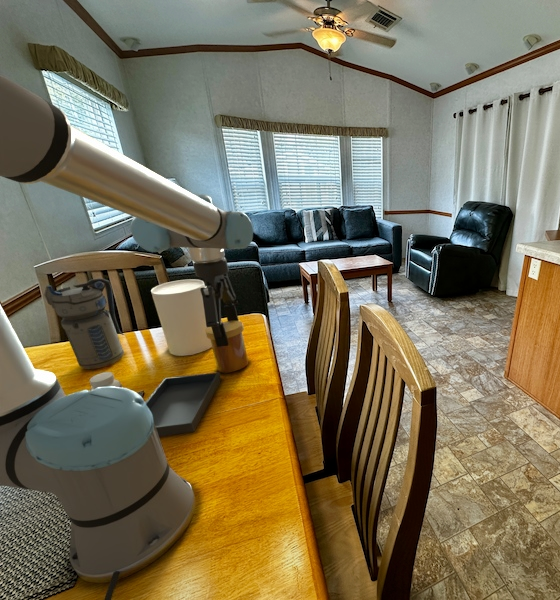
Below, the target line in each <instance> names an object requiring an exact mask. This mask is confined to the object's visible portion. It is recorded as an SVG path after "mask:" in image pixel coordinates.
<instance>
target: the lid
mask: <svg viewBox="0 0 560 600" xmlns="http://www.w3.org/2000/svg"><path fill="white" fill-rule="evenodd" d="M221 323H223V324H224V328H225V331H226V335H227V338H230V337H233V336H236V335H238V334H240V333H241V332H242V333H243V331H244V324H243V322H242V321H240V320H239V321H228V320H227V321H221ZM205 331H206V335H207V338H208V339H212V340H215V338H214V334H213V331H212V327H208V328H207V329H206V330H205Z"/></svg>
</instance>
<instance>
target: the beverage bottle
mask: <svg viewBox="0 0 560 600" xmlns="http://www.w3.org/2000/svg"><path fill="white" fill-rule="evenodd" d="M72 286H73V287H74V288H71V287H70V286H67V287H62V288H60V289H56V290H54V289H53V286H52V285H51V284H50V285H46V286H45V290H44V293H43V295H44V297H45V300H46V302H47V304H48V305H50V306H51V308H52V309H54V310H55V313H56V315H57V316H58V317H60V318H62V319H61V320H60V324H61V327H62V329H63V330H64V333H65V336H66V337H67V340H68V342H69V344H70V347H71V349H72V351H73V354H74V356H75V358H76V362H77V364H78V366H79V367H80V368H82V369H84V370H96V369H101V368H105V367H108V366H110V365H112V364H115V363H116V362H118V361H120V360H121V359H122V358H123V357H124V354H125V351H124V348H123V346H122V343H121V341H120V340H121V339H120V338H119V337H120V336H119V335H122V336H125V334H124V333H123V332H121V330H120V327H119V323H118V320H117V318H116V313H115V304H114V296H113V288H112V285H111V281H110V280H108V279H105V278H101V277H97V278H93V279H89V280H88V281H86V282H83V283H78V284H74V285H72ZM90 286H92V287H90ZM105 289H106V296H105V295H104V293H103V292H104V290H105ZM106 298H107V299H106ZM107 305H108V310H107V309H105V308H106V306H107Z"/></svg>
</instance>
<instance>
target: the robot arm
mask: <svg viewBox="0 0 560 600" xmlns="http://www.w3.org/2000/svg"><path fill="white" fill-rule="evenodd" d="M0 177H2V178H4V179H7V180H10V181H13V182H15V183H18V184H19V183H20V184H25V185H31V184H36V183H40V182H42V183H44V184H47V185H49V186H51V187H54V188H57V189H59V190H63V191H66V192H68V193H71V194H74V195H76V196H78V197H81V198H84V199H86V200H89V201H92V202H95V203H97V204H100V205H102V206H105V207H108V208H111V209H113V210H115V211H119V212H120V213H124V214H126V215H129V216H131V217H134V218H133V219H132V221H131V222H130V232H131V235H132V238H133V240H134V241H135V243H136V244H137V245H138V246H139V247H140V248H141V249H143V250H145V251H148V252H150V253H158V252H161V251H168V250H169V249H173V248H186V249H188V253H189V257H190V260H191V261H192V262H193V263H192V267H193V269H194V274H195V276H196V277H197V278H201V279H204V284H205V287H203V288H201V289H200V291H201V294H202V297H203V305H204V312H205V320H206V326H207V327H212V331H213V334H214V338H215V341H216V345H217V347H221V346H228V345H229V343H228V339H227V335H226V331H225V328H224V324H223V323H221V322H222V304H221V301H222V302H223V303H224V306H223V308H224V312H225V316H226V319H227V321H240V320H239V316H238V312H237V308H236V304H238V303H239V302H238V299H237V296H236V293H235V291H234V288H233V286H232V283H231V281H230V278H229V271H230V270H229V269H230V268H229V265H228V261H227V258H226V257H225V256H226V254H225V250H226V249H227V250H234V249H236V250H239V249H246V248H247V247H249V245H251V243H252V241H253V238H254V226H253V223H252V220H251V219H250V217H249V216H248V215H247V214H246V213H244V212H243V211H242V212H241V211H234V210H228V211H226V210H222V209H220V208H219V207H217V206H215V205H214V204H213V201H212V198H211V197H210V196H209V195H207V194H194V193H192V192H190V191H189V190H187V189H185V188H183V187H181V186H179V185H177V184H176V183H174V182H172V180H168V179H167V178H166V177H164V176H162V175H160V174H158V173H156V172H155V171H153V170H151V169H149V168H148V167H146V166H144V165H142V164H141V163H140V162H137V161H135V160H133V159H132V158H130V157H128V156H126V155H124V154H123V153H121V152H119V151H117V150H116V149H114V148H112V147H110V146H109V145H107V144H104V143H103V142H102V141H100V140H98V139H96V138H94V137H93V136H92V135H89V134H87V133H85V132H83V131H82V130H80V129H79V128H77V127H75V126H74V125H71V122H70V120H69V118H68V116H67V115H66V113H65V112H64V111H63V110H62V109H61V108H59V107H57V106H56V105H55V104H52V103H51V102H50V101H47V100H46V99H44V98H42V97H41V96H39V95H37V94H36V93H34V92H32V91H30V90H29V89H27V88H25V87H24V86H22V85H21V84H18V83H16V82H15V81H13V80H11V79H10V78H7V77H6V76H4V75H2V74H0ZM145 402H146V400H144V398H143V397H142V396H141V395H140V393H138V392H136V391H135V390H132V389H130V388H127V387H123V386H122V387H112V386H109V387H97V388H95V389H94V390H92V391H90V390H88V389H82V390H80V391H76V392H72V393H70V394H67V395H66V394H65V392H64V390H63V388H62V386H61V384H60V382H59V380H58V378H57V376H56V374H54V372H52V371H48V370H45V369H44V370H43V369H38V368H35V367H34V365H33V363H32V361H31V360H30V357H29V356H28V354H27V352H26V350H25V348H24V346H23V344H22V343H21V340H20V339H19V337H18V335H17V333H16V331H15V329H14V328H13V325H12V324H11V322H10V320H9V318H8V316H7V314H6V312H5V310H4V309H3V307H2V305H1V304H0V486H1V487H8V488H15V489H22V490H31V491H37V492H43V493H50V494H52V495H53V496H55V498H57V499H58V501H59V503H60V505H61V507H62V508H63V510H64V512H65V513H66V515H67V516H68V519H69V521H70V523H71V524H70V538H69V539H70V542H69V562H70V565H71V566H72V568H73V569H74V572H75V574H77V576H78V577H79V578H80V579H81V580H83V581H85V582H88V583H95V584H104V583H109V584H108V587H107V590H106V593H105V596H104V599H103V600H112V598H113V594H114V592H115V589H116V586H117V583H118V580H121V579H124V578H126V577H129V576H131V575H133V574H135V573H138V572H139V571H142V570H143V569H145V568H146V567H147V566H149V565H151V564H152V563H154V562H155V561H157V560H158V559H159V558H161V557H162V556H163V555H164V554H165V553H166V552H168V551H169V550H170V549H171V548H172V547H173V546H174V545H175V544H176V543H177V542H178V541H179V540H180V538H181V537H182V535H183V534H184V533H185V532H186V530H187V528H188V527H189V525H190V523H191V521H192V520H193V517H194V515H195V512H196V511H195V510H196V505H197V501H196V495H195V492H194V490H193V487H192V485H191V484H190V483H189V482H188V481H187V480H186V479H185V478H183V477H182V476H180V475H179V474H178V473H176V472H175V470H174V469H172V468H171V466H170V465H169V462H168V460H167V459H168V458H167V456H166V453H165V451H164V448H163V446H162V442H161V438H160V437H159V436H158V433H157V430H156V427H155V424H154V420H153V415H152V413H151V411H150V410H149V408H148V407H147V405H146V403H145Z"/></svg>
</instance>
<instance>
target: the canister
mask: <svg viewBox="0 0 560 600" xmlns="http://www.w3.org/2000/svg"><path fill="white" fill-rule="evenodd" d="M203 287H205V281H204V280H201V279H196V278H195V279H193V278H192V279H191V278H189V279H180V280H173V281H169V282H164V283H161V284H158V285H155V286H154V287H152V288H151V290H150V292H151V295H152V300H153V303H154V306H155V309H156V312H157V316H158V319H159V322H160V325H161V329H162V333H163V335H164V338H165V342H166V345H167V348H168V352H169V353H170V354H171V355H173V356H176V357H177V356H178V357H183V356H184V357H185V356H191V355H197V354H199V353H203V352H205V351H207V350H209V349H211V348H212V345H211V341H210V339H208V338H207V335H206V331H205V330H206V329H207V328H208V327H207V326H206V320H205V312H204V305H203V297H202V294H201V291H200V289H201V288H203Z"/></svg>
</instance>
